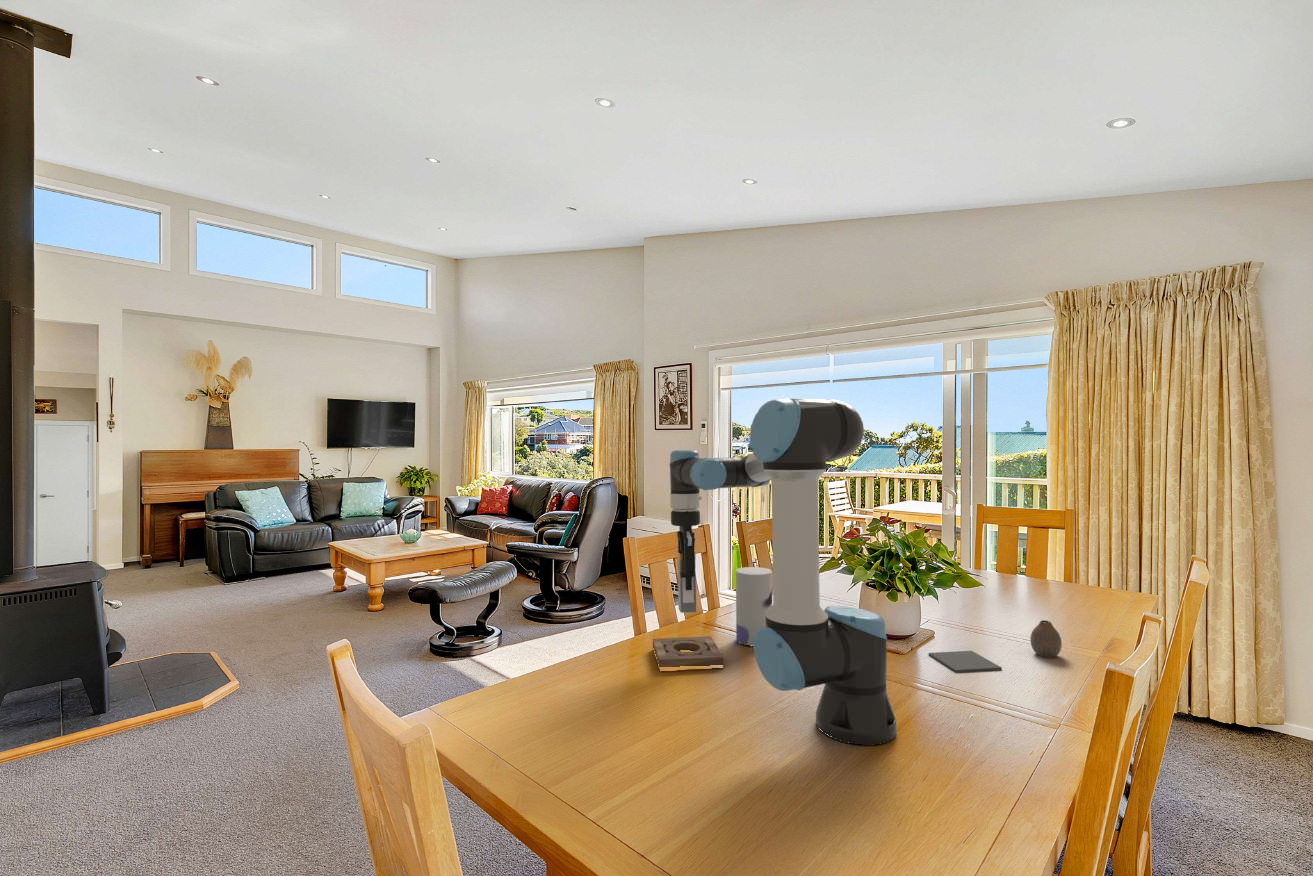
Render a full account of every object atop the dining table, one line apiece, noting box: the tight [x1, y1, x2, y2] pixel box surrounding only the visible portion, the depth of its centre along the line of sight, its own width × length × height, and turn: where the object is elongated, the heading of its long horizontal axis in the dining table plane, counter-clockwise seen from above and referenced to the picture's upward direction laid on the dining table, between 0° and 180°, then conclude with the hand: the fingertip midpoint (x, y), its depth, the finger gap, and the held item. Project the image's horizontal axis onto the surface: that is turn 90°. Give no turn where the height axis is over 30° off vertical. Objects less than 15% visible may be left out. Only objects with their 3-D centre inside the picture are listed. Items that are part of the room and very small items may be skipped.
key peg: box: [676, 550, 697, 614], centre depth 162 cm, size 4×4×15 cm
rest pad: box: [928, 650, 1003, 673], centre depth 158 cm, size 12×12×1 cm
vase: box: [1030, 619, 1063, 659], centre depth 163 cm, size 7×7×9 cm
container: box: [735, 566, 773, 646], centre depth 176 cm, size 10×10×20 cm
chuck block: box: [652, 635, 725, 667], centre depth 162 cm, size 16×16×3 cm
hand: (686, 599), depth 162 cm, fingers closed on key peg, 4 cm apart
